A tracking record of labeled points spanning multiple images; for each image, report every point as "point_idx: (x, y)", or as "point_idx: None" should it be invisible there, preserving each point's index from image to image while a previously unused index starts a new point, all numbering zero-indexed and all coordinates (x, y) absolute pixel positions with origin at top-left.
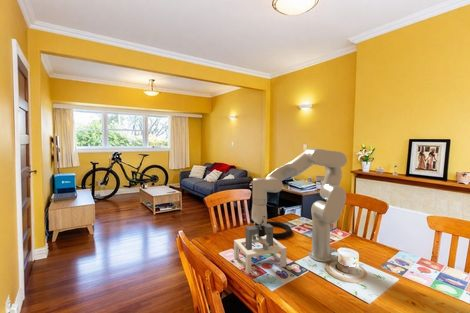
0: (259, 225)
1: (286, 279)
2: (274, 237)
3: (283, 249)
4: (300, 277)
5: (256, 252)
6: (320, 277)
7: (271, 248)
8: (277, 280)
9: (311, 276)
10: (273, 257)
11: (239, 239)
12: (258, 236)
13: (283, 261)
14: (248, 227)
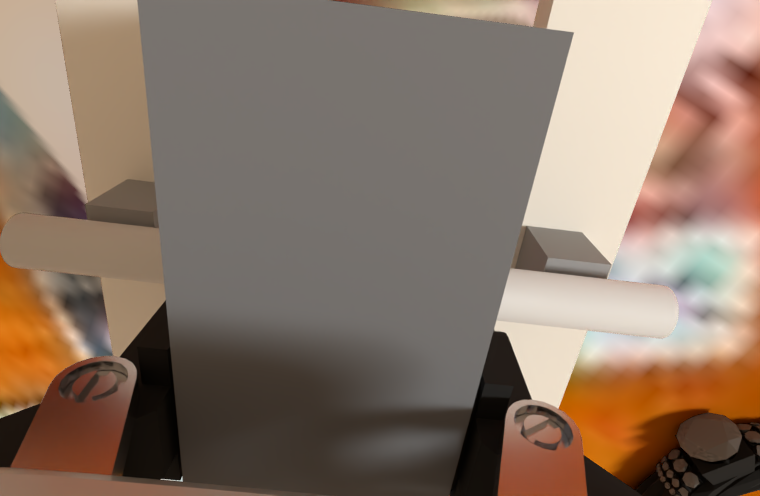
0: (97, 462)
1: (22, 196)
2: (643, 493)
3: None
4: (31, 300)
5: (84, 22)
6: (9, 399)
7: (158, 289)
8: (19, 121)
9: (31, 364)
10: None
11: (686, 21)
12: None
13: None
14: (429, 110)
